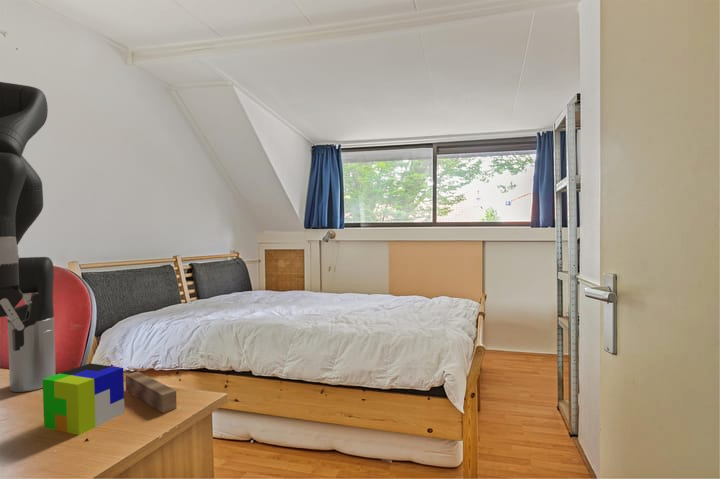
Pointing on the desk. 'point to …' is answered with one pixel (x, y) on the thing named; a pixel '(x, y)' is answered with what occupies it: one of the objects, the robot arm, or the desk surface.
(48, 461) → the desk surface
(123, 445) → the desk surface
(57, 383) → the puzzle toy
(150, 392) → the block
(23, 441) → the desk surface
